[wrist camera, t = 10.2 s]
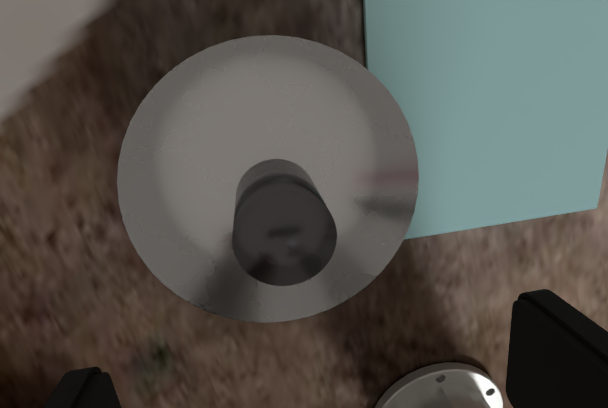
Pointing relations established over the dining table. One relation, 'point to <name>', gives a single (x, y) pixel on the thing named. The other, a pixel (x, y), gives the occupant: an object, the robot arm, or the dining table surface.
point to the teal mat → (496, 104)
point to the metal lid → (267, 178)
